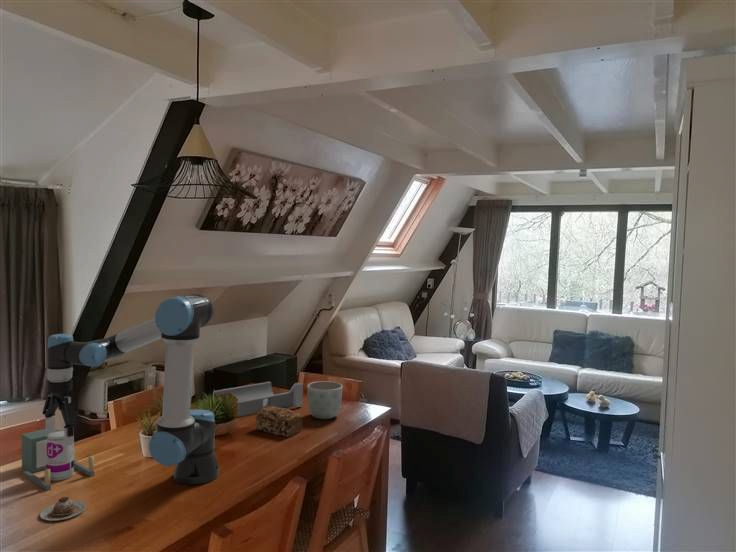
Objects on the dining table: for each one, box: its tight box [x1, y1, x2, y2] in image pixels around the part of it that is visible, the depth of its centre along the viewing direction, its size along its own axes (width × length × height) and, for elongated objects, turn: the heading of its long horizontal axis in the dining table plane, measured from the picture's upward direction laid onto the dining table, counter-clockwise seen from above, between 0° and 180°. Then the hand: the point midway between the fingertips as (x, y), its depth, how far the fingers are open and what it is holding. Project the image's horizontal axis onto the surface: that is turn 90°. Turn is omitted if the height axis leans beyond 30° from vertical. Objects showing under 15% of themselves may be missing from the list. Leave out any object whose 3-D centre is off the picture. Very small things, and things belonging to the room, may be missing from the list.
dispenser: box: [21, 428, 95, 492], centre depth 189 cm, size 26×16×12 cm, turn 54°
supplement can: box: [46, 430, 75, 482], centre depth 186 cm, size 8×8×15 cm
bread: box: [255, 406, 303, 437], centre depth 239 cm, size 19×11×10 cm, turn 60°
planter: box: [306, 380, 343, 420], centre depth 260 cm, size 17×17×15 cm
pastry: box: [39, 496, 86, 522], centre depth 162 cm, size 12×12×5 cm
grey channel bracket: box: [212, 381, 304, 418], centre depth 275 cm, size 33×32×13 cm
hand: (59, 440), depth 186 cm, fingers open, 13 cm apart
